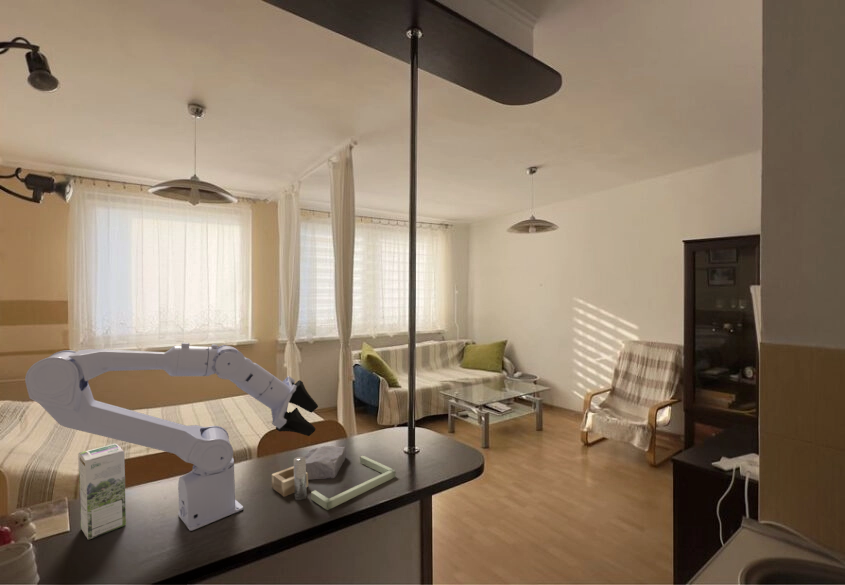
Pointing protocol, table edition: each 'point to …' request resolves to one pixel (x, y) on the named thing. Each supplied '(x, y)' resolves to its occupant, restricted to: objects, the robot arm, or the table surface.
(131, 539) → the table surface
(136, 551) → the table surface
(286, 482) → the block
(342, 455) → the stone block
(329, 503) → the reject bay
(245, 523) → the table surface
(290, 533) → the table surface
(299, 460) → the cylinder
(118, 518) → the syrup box
